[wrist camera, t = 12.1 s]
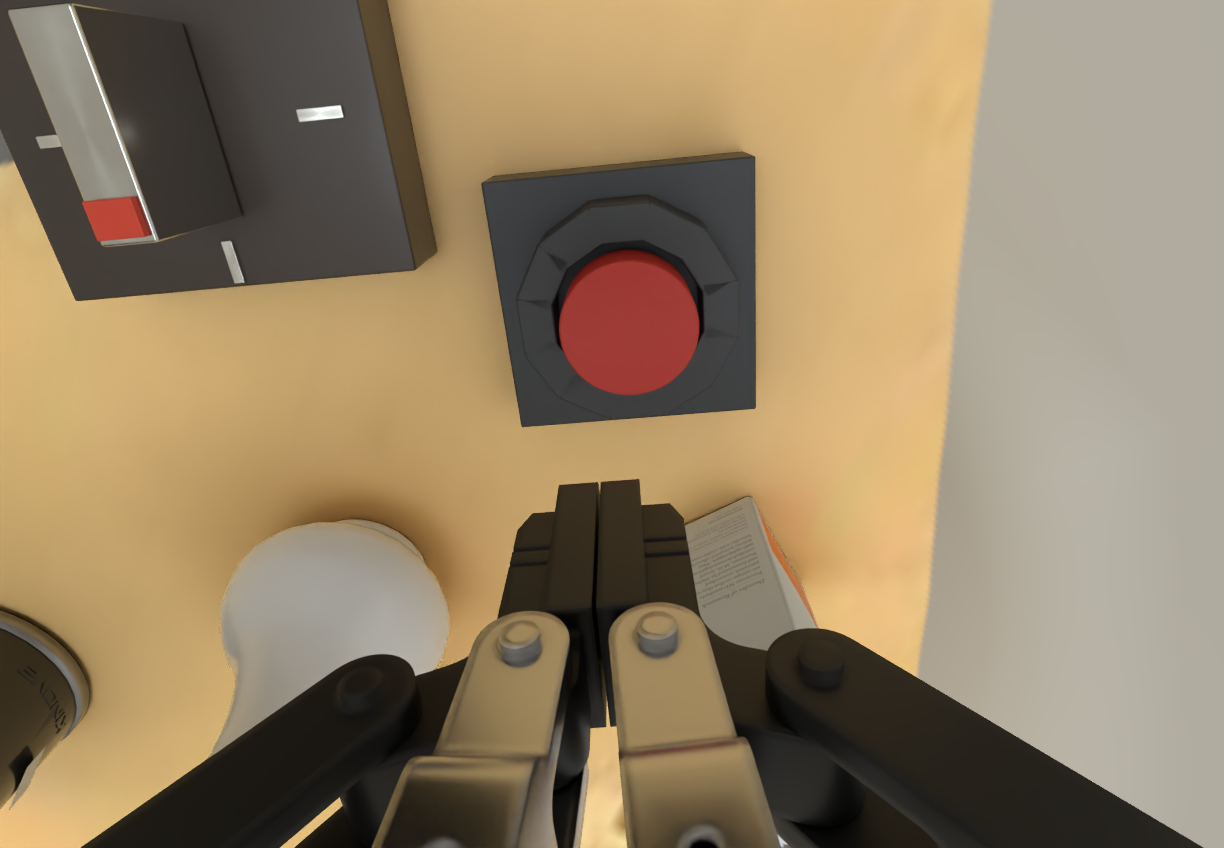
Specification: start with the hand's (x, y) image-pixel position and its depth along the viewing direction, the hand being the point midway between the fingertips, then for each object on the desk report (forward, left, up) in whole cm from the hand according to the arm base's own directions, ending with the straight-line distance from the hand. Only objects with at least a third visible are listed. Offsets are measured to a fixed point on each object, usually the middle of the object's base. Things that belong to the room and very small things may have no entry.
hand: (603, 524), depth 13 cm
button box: (+1, +1, -15) cm, 15 cm away
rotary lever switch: (-12, +8, -15) cm, 21 cm away
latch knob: (-12, +8, -12) cm, 19 cm away
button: (+1, +1, -11) cm, 11 cm away
